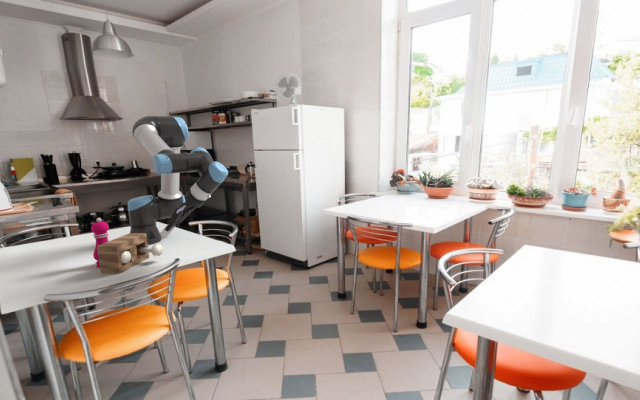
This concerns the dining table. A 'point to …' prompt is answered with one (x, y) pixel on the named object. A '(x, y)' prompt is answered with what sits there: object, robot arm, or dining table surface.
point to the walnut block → (113, 248)
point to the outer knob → (125, 256)
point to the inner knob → (153, 250)
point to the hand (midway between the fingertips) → (163, 234)
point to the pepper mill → (99, 236)
